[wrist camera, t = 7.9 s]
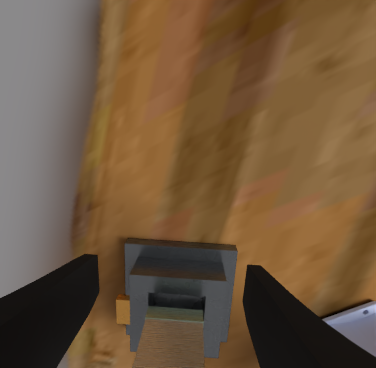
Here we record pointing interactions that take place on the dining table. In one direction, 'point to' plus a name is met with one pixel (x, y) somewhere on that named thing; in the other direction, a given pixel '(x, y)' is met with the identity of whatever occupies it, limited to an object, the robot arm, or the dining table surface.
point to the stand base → (178, 285)
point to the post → (171, 339)
